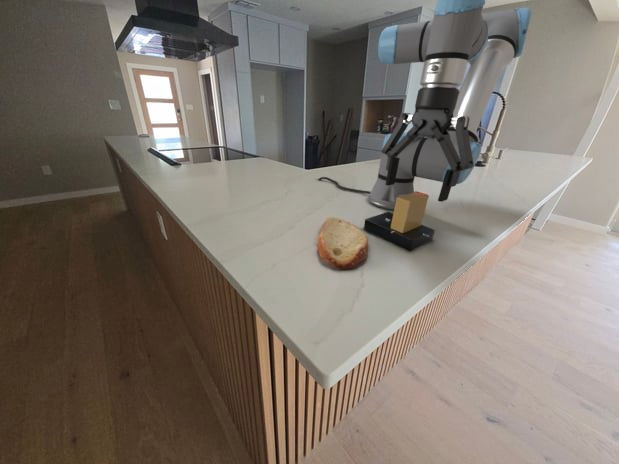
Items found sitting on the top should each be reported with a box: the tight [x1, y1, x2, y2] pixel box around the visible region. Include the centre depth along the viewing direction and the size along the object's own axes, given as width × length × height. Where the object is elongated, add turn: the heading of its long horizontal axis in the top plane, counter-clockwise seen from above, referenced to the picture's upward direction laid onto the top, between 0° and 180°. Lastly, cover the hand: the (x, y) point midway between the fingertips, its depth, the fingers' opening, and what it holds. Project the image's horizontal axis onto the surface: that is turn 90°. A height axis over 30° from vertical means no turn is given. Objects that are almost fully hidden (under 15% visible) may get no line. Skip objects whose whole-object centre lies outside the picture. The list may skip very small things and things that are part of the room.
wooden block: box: [391, 190, 430, 233], centre depth 62 cm, size 8×4×8 cm, turn 128°
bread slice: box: [316, 217, 369, 270], centre depth 60 cm, size 18×18×4 cm
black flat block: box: [363, 211, 436, 252], centre depth 65 cm, size 15×12×3 cm
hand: (414, 191), depth 59 cm, fingers open, 13 cm apart
